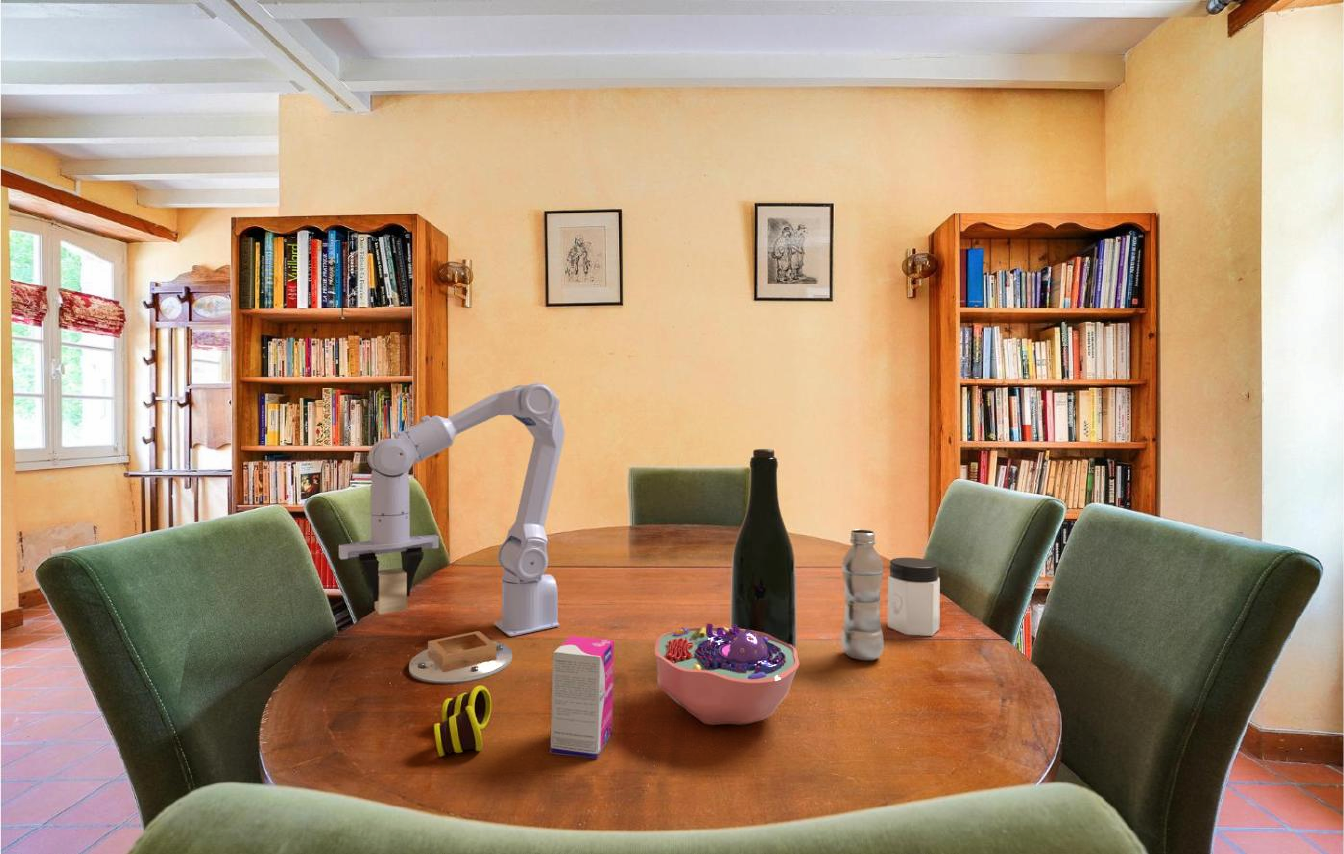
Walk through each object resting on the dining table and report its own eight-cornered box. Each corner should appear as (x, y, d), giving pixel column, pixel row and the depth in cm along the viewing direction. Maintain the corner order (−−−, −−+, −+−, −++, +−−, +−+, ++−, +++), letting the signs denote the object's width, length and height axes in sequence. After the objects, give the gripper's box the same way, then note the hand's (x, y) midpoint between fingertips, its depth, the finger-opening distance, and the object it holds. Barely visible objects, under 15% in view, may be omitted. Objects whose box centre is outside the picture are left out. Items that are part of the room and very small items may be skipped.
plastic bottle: (885, 653, 98) (886, 529, 98) (881, 668, 92) (881, 536, 92) (844, 646, 101) (845, 526, 101) (837, 661, 95) (838, 533, 95)
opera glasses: (452, 727, 76) (443, 688, 76) (495, 715, 77) (486, 677, 77) (436, 771, 67) (426, 727, 66) (485, 757, 67) (475, 714, 67)
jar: (878, 623, 113) (878, 559, 113) (911, 618, 116) (912, 555, 116) (914, 639, 104) (915, 570, 104) (950, 633, 108) (950, 565, 107)
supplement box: (599, 759, 67) (599, 656, 67) (549, 753, 68) (549, 652, 68) (614, 733, 73) (615, 638, 73) (568, 728, 74) (568, 634, 74)
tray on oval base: (492, 638, 104) (492, 621, 104) (527, 666, 92) (527, 647, 92) (398, 658, 96) (398, 639, 96) (423, 692, 83) (423, 671, 83)
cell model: (709, 671, 91) (709, 596, 91) (827, 718, 77) (827, 628, 77) (622, 708, 79) (622, 622, 79) (742, 772, 65) (742, 666, 65)
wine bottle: (745, 638, 105) (746, 447, 104) (805, 650, 99) (805, 448, 99) (719, 659, 96) (719, 449, 95) (783, 673, 90) (784, 451, 90)
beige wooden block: (400, 603, 101) (400, 567, 101) (406, 609, 98) (406, 572, 98) (374, 608, 98) (374, 571, 98) (379, 614, 95) (379, 576, 95)
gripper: (430, 506, 105) (430, 584, 106) (335, 514, 97) (336, 599, 97) (442, 511, 100) (442, 594, 100) (342, 520, 91) (342, 610, 91)
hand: (390, 597), depth 98 cm, fingers closed on beige wooden block, 4 cm apart
